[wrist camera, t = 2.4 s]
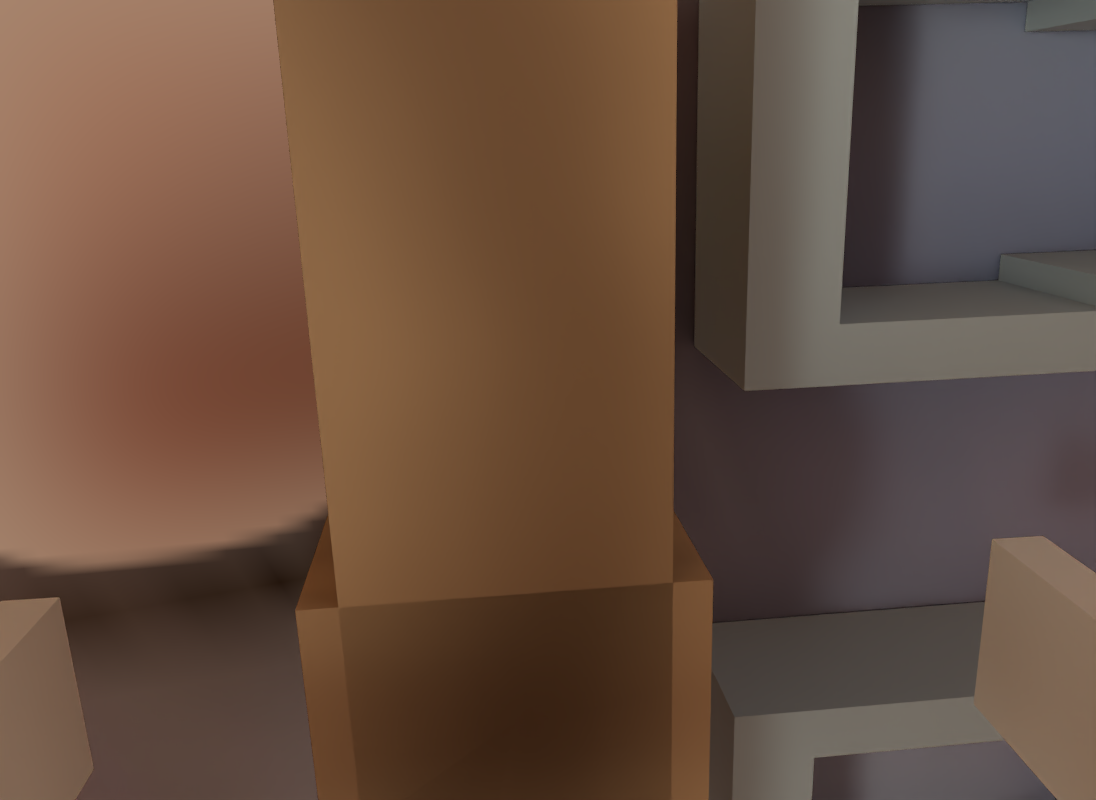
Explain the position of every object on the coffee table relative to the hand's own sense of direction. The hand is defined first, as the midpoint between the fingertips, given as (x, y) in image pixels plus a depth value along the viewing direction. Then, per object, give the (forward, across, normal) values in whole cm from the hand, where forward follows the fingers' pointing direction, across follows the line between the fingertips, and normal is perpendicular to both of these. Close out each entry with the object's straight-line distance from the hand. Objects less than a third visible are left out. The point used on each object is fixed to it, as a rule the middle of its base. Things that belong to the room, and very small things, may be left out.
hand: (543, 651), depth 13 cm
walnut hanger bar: (+5, -1, 0) cm, 5 cm away
